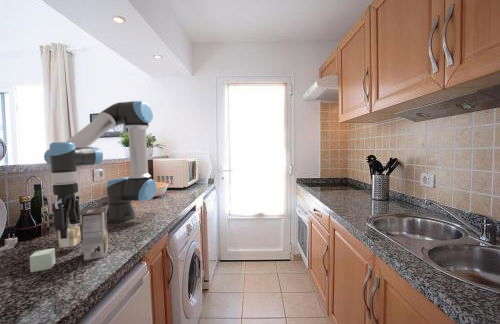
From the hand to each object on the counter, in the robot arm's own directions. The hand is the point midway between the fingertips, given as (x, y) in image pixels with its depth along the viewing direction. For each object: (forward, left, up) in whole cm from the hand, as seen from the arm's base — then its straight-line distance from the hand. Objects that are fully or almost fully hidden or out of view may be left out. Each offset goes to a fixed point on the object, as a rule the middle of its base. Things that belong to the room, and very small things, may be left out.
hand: (70, 243), depth 91 cm
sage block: (+14, -1, -3) cm, 14 cm away
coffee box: (+7, +12, -3) cm, 14 cm away
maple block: (0, 0, 0) cm, 0 cm away
